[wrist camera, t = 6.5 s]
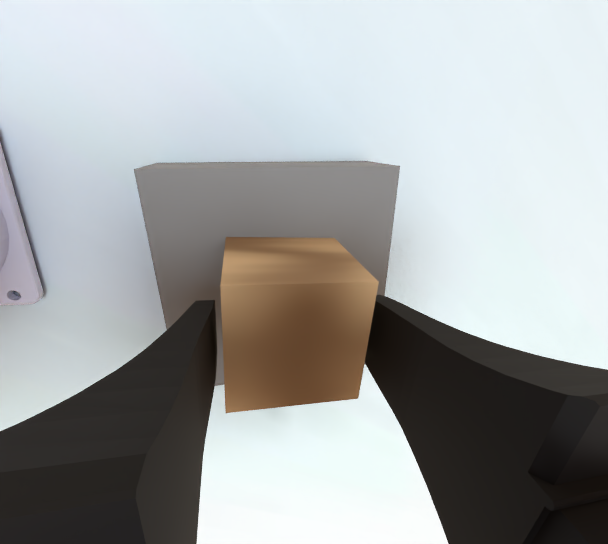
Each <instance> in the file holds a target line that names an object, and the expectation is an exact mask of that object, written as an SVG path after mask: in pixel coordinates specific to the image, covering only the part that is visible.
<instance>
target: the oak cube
mask: <svg viewBox="0 0 608 544" xmlns="http://www.w3.org/2000/svg"><path fill="white" fill-rule="evenodd" d="M378 284H379V282H378V281H377V280H376V279H375V278H374V277H373V276H372V275H371V274H370V273H369V272H368V271H367V270H366V269H365V268H364V267H363V266H362V265H361V264H360V263H359V262H358V261H357V260H356V259H355V258H354V257H353V256H352V255H351V254H350V253H349V252H348V251H347V250H346V249H345V248H344V247H343V246H342V245H341V244H340V243H339V242H338V241H337V240H336V239H335V238H286V237H226V240H225V249H224V258H223V267H222V276H221V284H220V289H221V313H222V337H223V360H224V384H225V408H226V413H230V412H239V411H248V410H257V409H266V408H275V407H285V406H294V405H303V404H312V403H321V402H330V401H339V400H348V399H357V398H358V396H359V390H360V385H361V379H362V373H363V368H364V362H365V357H366V351H367V345H368V340H369V334H370V329H371V323H372V317H373V312H374V306H375V301H376V295H377V289H378Z"/></svg>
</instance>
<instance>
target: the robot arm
mask: <svg viewBox="0 0 608 544" xmlns="http://www.w3.org/2000/svg"><path fill="white" fill-rule="evenodd" d="M13 291H17V292H18V293H19V294H20V295H21V297H19V296H16V295H15V294H14V293H13ZM42 297H43V289H42V286H41V282H40V279H39V275H38V272H37V268H36V265H35V261H34V258H33V254H32V251H31V247H30V244H29V241H28V237H27V234H26V230H25V227H24V223H23V220H22V216H21V213H20V209H19V206H18V202H17V199H16V195H15V192H14V189H13V185H12V182H11V178H10V175H9V171H8V168H7V164H6V161H5V157H4V154H3V150H2V147H1V143H0V305H19V304H34V303H36V302H37V301H39V300H40V299H41V298H42ZM365 363H366V365H367V367H368V369H369V371H370V373H371V374H372V376H373V378H374V380H375V381H376V383H377V385H378V387H379V388H380V390H381V392H382V394H383V395H384V397H385V399H386V400H387V402H388V404H389V406H390V407H391V409H392V411H393V413H394V414H395V416H396V418H397V420H398V422H399V424H400V426H401V427H402V429H403V432H404V434H405V436H406V438H407V441H408V443H409V445H410V447H411V449H412V452H413V454H414V456H415V459H416V461H417V463H418V466H419V468H420V471H421V473H422V475H423V478H424V480H425V483H426V485H427V487H428V490H429V492H430V495H431V498H432V500H433V503H434V505H435V508H436V511H437V513H438V516H439V519H440V521H441V524H442V526H443V529H444V532H445V535H446V538H447V540H448V543H449V544H608V370H606V369H600V368H594V367H588V366H583V365H578V364H573V363H568V362H564V361H559V360H555V359H550V358H546V357H542V356H538V355H534V354H530V353H527V352H523V351H520V350H516V349H513V348H509V347H506V346H503V345H499V344H496V343H493V342H490V341H487V340H485V339H482V338H479V337H476V336H473V335H470V334H468V333H465V332H463V331H460V330H458V329H455V328H453V327H451V326H448V325H446V324H444V323H441V322H439V321H437V320H435V319H433V318H431V317H428V316H426V315H424V314H422V313H420V312H418V311H416V310H414V309H412V308H410V307H408V306H405V305H403V304H401V303H399V302H397V301H395V300H393V299H390V298H388V297H385V296H382V295H376V301H375V306H374V312H373V317H372V323H371V329H370V334H369V340H368V345H367V351H366V357H365ZM216 369H217V331H216V310H215V300H199V301H195V302H194V303H193V304H192V305H191V306H190V307H189V308H188V309H187V310H186V311H185V312H184V313H183V314H182V315H181V317H180V318H179V319H178V320H177V321H176V322H175V323H174V324H173V325H172V326H171V327H170V328H169V329H168V330H167V331H166V332H164V333H163V334H162V335H161V336H160V337H159V338H158V339H157V340H155V341H154V342H153V343H152V344H151V345H150V346H149V347H147V348H146V349H145V350H144V351H142V352H141V353H140V354H138V355H137V356H136V357H134V358H133V359H132V360H130V361H129V362H127V363H126V364H125V365H123V366H122V367H120V368H119V369H117V370H116V371H114V372H113V373H111V374H109V375H108V376H106V377H104V378H103V379H101V380H99V381H98V382H96V383H94V384H93V385H91V386H90V387H88V388H86V389H85V390H83V391H81V392H79V393H78V394H76V395H74V396H72V397H70V398H68V399H67V400H65V401H63V402H61V403H59V404H57V405H55V406H53V407H51V408H49V409H47V410H45V411H43V412H41V413H39V414H37V415H35V416H33V417H31V418H29V419H27V420H25V421H23V422H21V423H18V424H16V425H14V426H12V427H10V428H7V429H5V430H3V431H0V544H196V542H197V527H198V513H199V499H200V486H201V474H202V461H203V451H204V444H205V437H206V431H207V426H208V420H209V414H210V409H211V403H212V398H213V392H214V386H215V380H216Z"/></svg>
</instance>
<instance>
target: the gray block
mask: <svg viewBox="0 0 608 544" xmlns="http://www.w3.org/2000/svg"><path fill="white" fill-rule="evenodd" d="M399 170H400V166H395V165H389V164H382V163H375V162H368V161H326V162H204V163H155V164H152V165H148V166H144V167H141V168H137V169H134V173H135V177H136V182H137V187H138V192H139V197H140V202H141V206H142V211H143V216H144V221H145V226H146V231H147V236H148V240H149V245H150V250H151V255H152V260H153V265H154V270H155V274H156V279H157V284H158V289H159V294H160V299H161V303H162V308H163V313H164V318H165V323H166V328H167V330H168V329H169V328H170V327H171V326H172V325H173V324H174V323H175V322H176V321H177V320H178V319H179V318H180V317H181V315H182V314H183V313H184V312H185V311H186V310H187V309H188V308H189V307H190V306H191V305H192V304H193V303H194V302H195V301H199V300H215V310H216V331H217V369H216V380H215V386H216V385H223V384H224V360H223V337H222V313H221V289H220V284H221V276H222V267H223V258H224V249H225V240H226V237H286V238H335V239H336V240H337V241H338V242H339V243H340V244H341V245H342V246H343V247H344V248H345V249H346V250H347V251H348V252H349V253H350V254H351V255H352V256H353V257H354V258H355V259H356V260H357V261H358V262H359V263H360V264H361V265H362V266H363V267H364V268H365V269H366V270H367V271H368V272H369V273H370V274H371V275H372V276H373V277H374V278H375V279H376V280H377V281H378V282H379V284H378V289H377V295H382V296H384V293H385V285H386V277H387V269H388V261H389V252H390V244H391V236H392V228H393V219H394V211H395V203H396V195H397V186H398V178H399ZM364 364H366V363H365V362H364Z"/></svg>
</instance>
